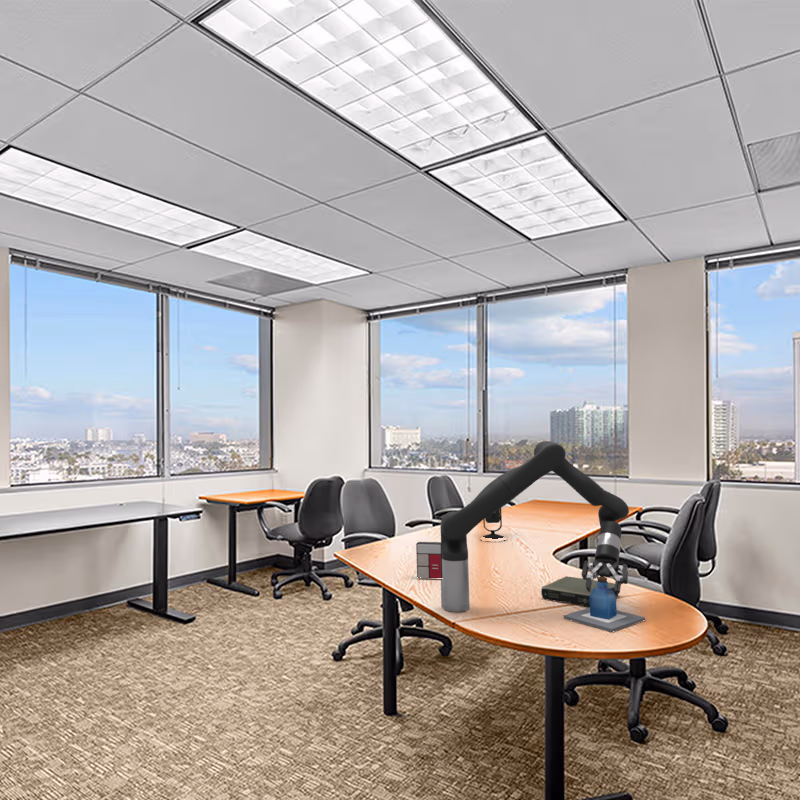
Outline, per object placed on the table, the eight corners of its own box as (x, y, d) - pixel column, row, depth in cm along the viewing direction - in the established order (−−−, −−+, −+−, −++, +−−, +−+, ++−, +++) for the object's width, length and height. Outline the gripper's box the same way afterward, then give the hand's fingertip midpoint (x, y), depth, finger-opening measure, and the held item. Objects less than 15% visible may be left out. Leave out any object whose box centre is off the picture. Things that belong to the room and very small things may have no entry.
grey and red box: (416, 579, 251) (415, 543, 252) (418, 576, 256) (417, 541, 257) (442, 580, 249) (441, 544, 250) (443, 577, 253) (443, 542, 254)
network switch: (621, 595, 222) (620, 581, 222) (604, 611, 202) (603, 596, 203) (559, 587, 235) (559, 574, 235) (538, 602, 215) (537, 588, 216)
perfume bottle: (590, 615, 192) (588, 578, 193) (598, 611, 197) (597, 574, 198) (608, 619, 188) (607, 581, 189) (616, 615, 193) (615, 577, 193)
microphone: (480, 542, 334) (479, 488, 336) (478, 537, 350) (476, 486, 352) (508, 542, 334) (507, 488, 335) (504, 537, 349) (503, 485, 351)
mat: (563, 618, 194) (563, 614, 194) (596, 608, 205) (596, 604, 205) (611, 632, 180) (611, 628, 180) (645, 620, 190) (645, 616, 190)
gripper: (584, 541, 204) (577, 583, 193) (628, 544, 197) (623, 587, 186) (588, 554, 208) (582, 595, 198) (631, 557, 201) (627, 600, 190)
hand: (602, 591), depth 192 cm, fingers open, 8 cm apart
